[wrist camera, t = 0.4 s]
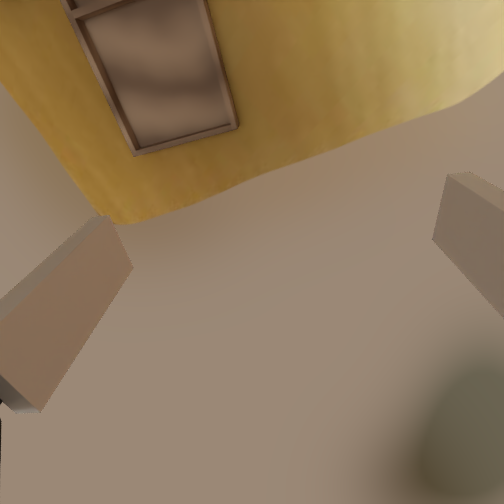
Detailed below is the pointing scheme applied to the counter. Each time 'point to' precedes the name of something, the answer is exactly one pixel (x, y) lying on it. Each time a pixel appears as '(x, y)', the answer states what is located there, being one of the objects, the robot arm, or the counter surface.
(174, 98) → the caddy
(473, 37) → the counter surface
